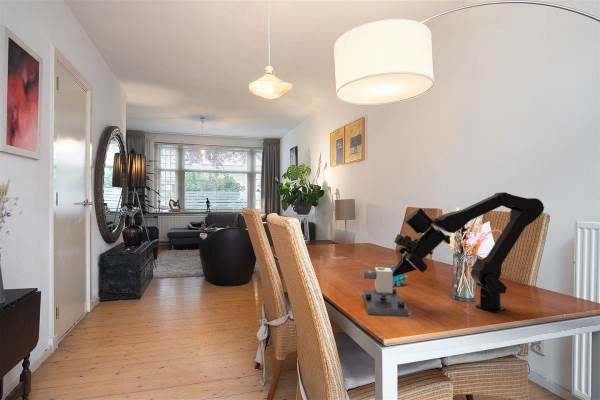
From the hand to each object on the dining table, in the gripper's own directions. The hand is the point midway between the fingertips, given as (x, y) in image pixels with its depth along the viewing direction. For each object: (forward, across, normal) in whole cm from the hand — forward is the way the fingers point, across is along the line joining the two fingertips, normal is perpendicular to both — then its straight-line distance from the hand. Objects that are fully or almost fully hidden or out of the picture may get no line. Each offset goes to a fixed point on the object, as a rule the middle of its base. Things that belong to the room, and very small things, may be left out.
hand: (392, 275), depth 106 cm
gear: (+4, -26, +11) cm, 28 cm away
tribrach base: (+9, 0, +5) cm, 10 cm away
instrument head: (+8, 0, +1) cm, 8 cm away
